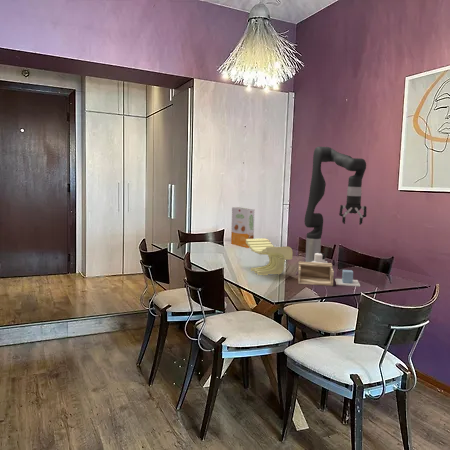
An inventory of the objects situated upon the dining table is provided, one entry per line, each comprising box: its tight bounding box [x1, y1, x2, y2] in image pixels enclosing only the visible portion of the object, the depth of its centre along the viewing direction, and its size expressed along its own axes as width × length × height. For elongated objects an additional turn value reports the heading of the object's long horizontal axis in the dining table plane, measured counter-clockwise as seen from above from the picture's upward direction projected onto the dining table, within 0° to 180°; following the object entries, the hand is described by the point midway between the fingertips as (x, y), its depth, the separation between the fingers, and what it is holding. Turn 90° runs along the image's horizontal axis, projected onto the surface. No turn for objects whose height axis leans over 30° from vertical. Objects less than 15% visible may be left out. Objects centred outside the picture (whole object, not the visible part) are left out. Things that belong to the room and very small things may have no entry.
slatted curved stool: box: [246, 237, 293, 276], centre depth 247 cm, size 30×16×18 cm, turn 19°
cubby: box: [297, 261, 335, 287], centre depth 230 cm, size 18×18×8 cm
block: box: [341, 269, 354, 283], centre depth 227 cm, size 5×5×6 cm
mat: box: [334, 278, 361, 287], centre depth 227 cm, size 12×12×1 cm
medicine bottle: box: [311, 252, 329, 263], centre depth 248 cm, size 7×7×12 cm
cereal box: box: [230, 206, 255, 249], centre depth 338 cm, size 22×6×30 cm, turn 32°
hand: (352, 224), depth 234 cm, fingers open, 8 cm apart
